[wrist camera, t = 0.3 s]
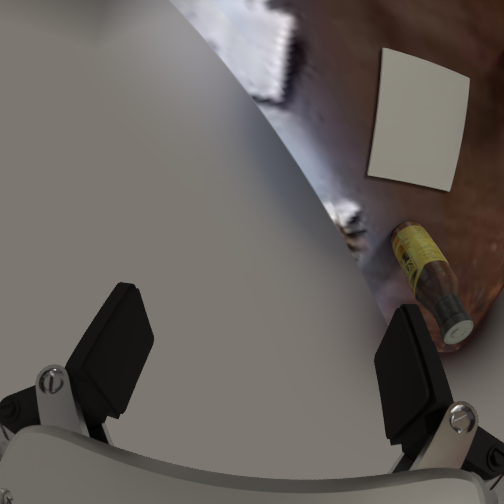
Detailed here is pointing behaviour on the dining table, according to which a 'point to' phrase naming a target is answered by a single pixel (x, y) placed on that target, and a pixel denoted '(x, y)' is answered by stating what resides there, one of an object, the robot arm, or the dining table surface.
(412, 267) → the sauce bottle
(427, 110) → the mat
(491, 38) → the dining table surface
